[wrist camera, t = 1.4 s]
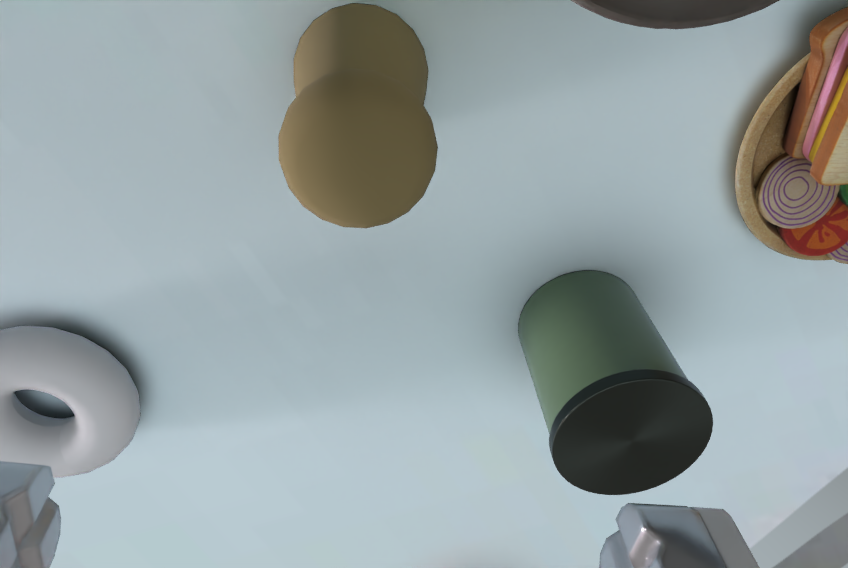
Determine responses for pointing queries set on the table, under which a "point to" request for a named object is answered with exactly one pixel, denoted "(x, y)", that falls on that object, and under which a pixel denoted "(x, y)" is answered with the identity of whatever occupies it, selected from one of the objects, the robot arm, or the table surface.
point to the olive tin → (609, 387)
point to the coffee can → (673, 11)
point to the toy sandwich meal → (801, 154)
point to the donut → (75, 385)
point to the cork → (358, 118)
